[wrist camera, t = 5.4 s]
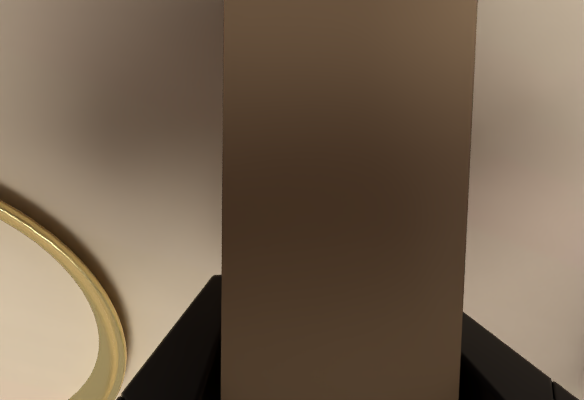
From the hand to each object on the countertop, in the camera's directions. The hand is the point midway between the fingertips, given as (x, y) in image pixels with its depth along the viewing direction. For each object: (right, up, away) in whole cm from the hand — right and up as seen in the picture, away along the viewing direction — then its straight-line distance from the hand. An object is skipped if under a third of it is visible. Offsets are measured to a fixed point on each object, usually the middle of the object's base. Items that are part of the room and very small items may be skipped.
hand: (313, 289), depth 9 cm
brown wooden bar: (0, +3, +2) cm, 3 cm away
